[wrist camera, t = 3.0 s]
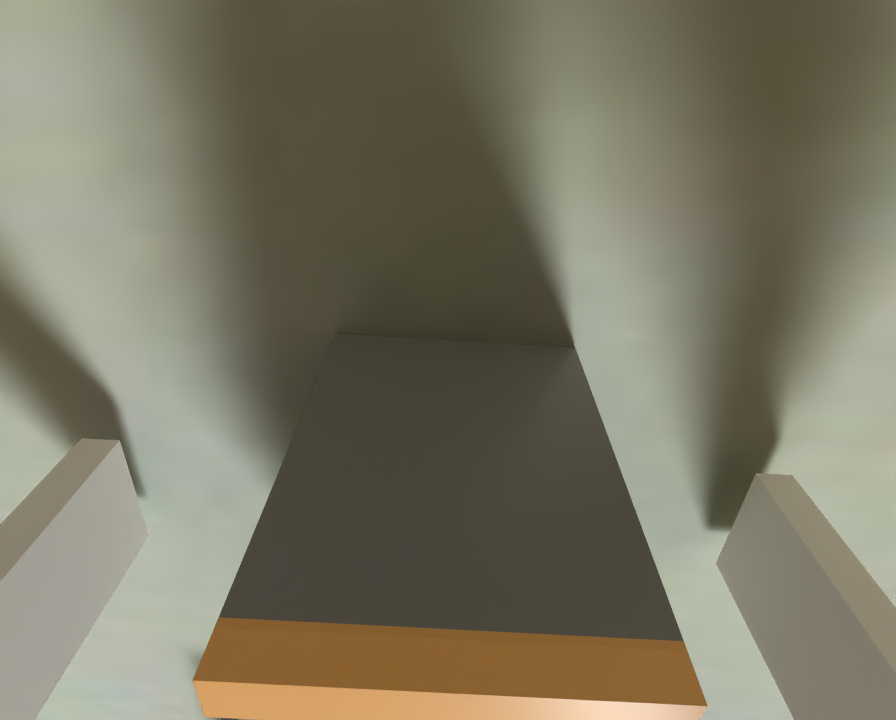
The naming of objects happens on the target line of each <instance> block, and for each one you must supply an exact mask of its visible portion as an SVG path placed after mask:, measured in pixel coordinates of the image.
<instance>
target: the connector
mask: <svg viewBox="0 0 896 720" xmlns="http://www.w3.org/2000/svg"><path fill="white" fill-rule="evenodd" d="M193 683H194V686H195V689H196V692H197V696H198V699H199V702H200V705H201V708H202V711H203V714H204V717H214V718H234V719H239V720H700V719H701V717H702V715H703V714H704V712H705V710H706V708H707V703H706V700H705V698H704V695H703V692H702V690H701V687H700V684H699V681H698V679H697V676H696V673H695V671H694V668H693V665H692V663H691V660H690V657H689V654H688V652H687V649H686V646H685V644H684V641H683V638H682V635H681V633H680V630H679V627H678V625H677V622H676V619H675V617H674V614H673V611H672V608H671V606H670V603H669V600H668V598H667V595H666V592H665V589H664V587H663V584H662V581H661V579H660V576H659V573H658V571H657V568H656V565H655V562H654V560H653V557H652V554H651V552H650V549H649V546H648V543H647V541H646V538H645V535H644V533H643V530H642V527H641V525H640V522H639V519H638V516H637V514H636V511H635V508H634V506H633V503H632V500H631V497H630V495H629V492H628V489H627V487H626V484H625V481H624V479H623V476H622V473H621V470H620V468H619V465H618V462H617V460H616V457H615V454H614V452H613V449H612V446H611V443H610V441H609V438H608V435H607V433H606V430H605V427H604V424H603V422H602V419H601V416H600V414H599V411H598V408H597V406H596V403H595V400H594V397H593V395H592V392H591V389H590V387H589V384H588V381H587V378H586V376H585V373H584V370H583V368H582V365H581V362H580V360H579V357H578V354H577V351H576V349H575V347H562V346H545V345H528V344H511V343H494V342H477V341H460V340H443V339H426V338H408V337H391V336H374V335H357V334H340V333H336V335H335V337H334V340H333V342H332V344H331V347H330V349H329V352H328V354H327V356H326V359H325V361H324V364H323V366H322V369H321V371H320V373H319V376H318V378H317V381H316V383H315V386H314V388H313V390H312V393H311V395H310V398H309V400H308V402H307V405H306V407H305V410H304V412H303V415H302V417H301V419H300V422H299V424H298V427H297V429H296V432H295V434H294V436H293V439H292V441H291V444H290V446H289V449H288V451H287V453H286V456H285V458H284V461H283V463H282V465H281V468H280V470H279V473H278V475H277V478H276V480H275V482H274V485H273V487H272V490H271V492H270V495H269V497H268V499H267V502H266V504H265V507H264V509H263V511H262V514H261V516H260V519H259V521H258V524H257V526H256V528H255V531H254V533H253V536H252V538H251V541H250V543H249V545H248V548H247V550H246V553H245V555H244V557H243V560H242V562H241V565H240V567H239V570H238V572H237V574H236V577H235V579H234V582H233V584H232V587H231V589H230V591H229V594H228V596H227V599H226V601H225V604H224V606H223V608H222V611H221V613H220V616H219V618H218V620H217V623H216V625H215V628H214V630H213V633H212V635H211V637H210V640H209V642H208V645H207V647H206V650H205V652H204V654H203V657H202V659H201V662H200V664H199V666H198V669H197V671H196V674H195V676H194V679H193Z"/></svg>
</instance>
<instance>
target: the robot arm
mask: <svg viewBox="0 0 896 720" xmlns="http://www.w3.org/2000/svg"><path fill="white" fill-rule="evenodd" d="M148 536H149V534H148V531H147V528H146V524H145V521H144V518H143V514H142V511H141V508H140V505H139V501H138V498H137V495H136V492H135V488H134V485H133V482H132V479H131V475H130V472H129V469H128V465H127V462H126V459H125V456H124V452H123V449H122V446H121V443H120V440H105V439H86V438H82V439H81V440H80V441H79V442H78V443H77V444H76V445H75V446H74V447H73V448H72V449H71V450H70V451H69V452H68V453H67V455H66V456H65V457H64V458H63V459H62V460H61V461H60V462H59V463H58V464H57V465H56V466H55V467H54V468H53V469H52V470H51V471H50V473H49V474H48V475H47V476H46V477H45V478H44V479H43V480H42V481H41V482H40V483H39V484H38V485H37V486H36V487H35V488H34V489H33V491H32V492H31V493H30V494H29V495H28V496H27V497H26V498H25V499H24V500H23V501H22V502H21V503H20V504H19V505H18V506H17V507H16V509H15V510H14V511H13V512H12V513H11V514H10V515H9V516H8V517H7V518H6V519H5V520H4V521H3V522H2V523H1V524H0V720H35V718H36V716H37V715H38V713H39V712H40V710H41V708H42V707H43V705H44V704H45V702H46V700H47V699H48V697H49V696H50V694H51V692H52V691H53V689H54V687H55V686H56V684H57V683H58V681H59V679H60V678H61V676H62V675H63V673H64V671H65V670H66V668H67V667H68V665H69V663H70V662H71V660H72V659H73V657H74V655H75V654H76V652H77V650H78V649H79V647H80V646H81V644H82V642H83V641H84V639H85V638H86V636H87V634H88V633H89V631H90V630H91V628H92V626H93V625H94V623H95V622H96V620H97V618H98V617H99V615H100V613H101V612H102V610H103V609H104V607H105V605H106V604H107V602H108V601H109V599H110V597H111V596H112V594H113V593H114V591H115V589H116V588H117V586H118V584H119V583H120V581H121V580H122V578H123V576H124V575H125V573H126V572H127V570H128V568H129V567H130V565H131V564H132V562H133V560H134V559H135V557H136V556H137V554H138V552H139V551H140V549H141V547H142V546H143V544H144V543H145V541H146V539H147V538H148ZM716 564H717V566H718V568H719V570H720V572H721V574H722V576H723V578H724V580H725V582H726V584H727V586H728V588H729V590H730V592H731V594H732V596H733V598H734V600H735V602H736V604H737V606H738V608H739V610H740V612H741V614H742V616H743V618H744V620H745V622H746V624H747V626H748V628H749V630H750V632H751V634H752V636H753V638H754V640H755V642H756V644H757V646H758V648H759V650H760V652H761V654H762V656H763V658H764V660H765V662H766V664H767V666H768V668H769V670H770V672H771V674H772V676H773V678H774V680H775V682H776V684H777V686H778V688H779V690H780V692H781V694H782V696H783V698H784V700H785V702H786V704H787V706H788V708H789V710H790V712H791V714H792V716H793V718H794V720H896V608H895V606H894V605H893V604H892V603H891V601H890V600H889V599H888V597H887V596H886V595H885V594H884V592H883V591H882V590H881V588H880V587H879V586H878V585H877V583H876V582H875V581H874V579H873V578H872V577H871V576H870V574H869V573H868V572H867V571H866V569H865V568H864V567H863V565H862V564H861V563H860V562H859V560H858V559H857V558H856V556H855V555H854V554H853V553H852V551H851V550H850V549H849V547H848V546H847V545H846V544H845V542H844V541H843V540H842V538H841V537H840V536H839V535H838V533H837V532H836V531H835V529H834V528H833V527H832V526H831V524H830V523H829V522H828V520H827V519H826V518H825V517H824V515H823V514H822V513H821V511H820V510H819V509H818V508H817V506H816V505H815V504H814V502H813V501H812V500H811V499H810V497H809V496H808V495H807V493H806V492H805V491H804V490H803V488H802V487H801V486H800V484H799V483H798V482H797V481H796V479H795V478H794V477H793V475H779V474H760V473H756V474H755V477H754V479H753V481H752V483H751V486H750V488H749V490H748V492H747V495H746V497H745V499H744V501H743V504H742V506H741V508H740V510H739V513H738V515H737V517H736V519H735V522H734V524H733V526H732V528H731V531H730V533H729V535H728V537H727V540H726V542H725V544H724V546H723V549H722V551H721V553H720V555H719V558H718V560H717V562H716Z"/></svg>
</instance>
